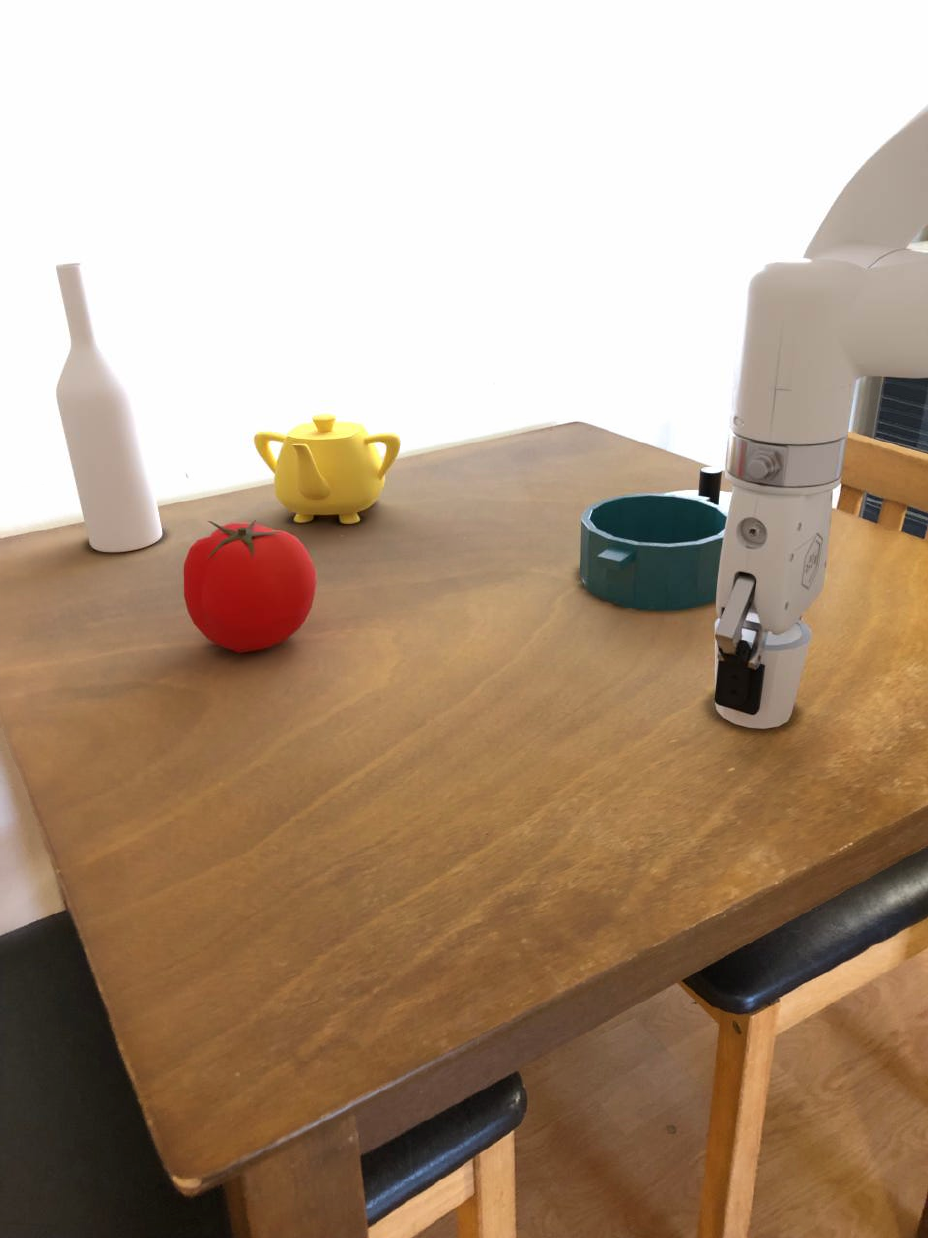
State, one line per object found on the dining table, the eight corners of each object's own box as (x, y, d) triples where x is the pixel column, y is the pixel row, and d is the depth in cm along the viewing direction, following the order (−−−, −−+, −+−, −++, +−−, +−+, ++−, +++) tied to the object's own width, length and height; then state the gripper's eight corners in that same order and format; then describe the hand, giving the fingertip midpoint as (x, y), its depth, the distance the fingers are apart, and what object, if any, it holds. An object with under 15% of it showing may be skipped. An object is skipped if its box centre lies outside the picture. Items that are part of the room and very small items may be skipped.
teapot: (251, 512, 115) (238, 417, 110) (351, 486, 123) (342, 396, 118) (306, 543, 105) (294, 440, 100) (410, 513, 113) (404, 416, 108)
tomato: (195, 619, 88) (175, 508, 84) (316, 604, 91) (304, 495, 86) (191, 681, 78) (168, 558, 73) (328, 662, 80) (315, 541, 75)
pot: (761, 560, 97) (768, 501, 94) (679, 636, 82) (684, 568, 79) (634, 534, 105) (637, 478, 102) (539, 598, 90) (539, 535, 87)
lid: (796, 512, 109) (803, 462, 106) (747, 557, 98) (753, 501, 95) (672, 490, 117) (676, 443, 115) (614, 529, 106) (616, 477, 103)
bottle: (145, 553, 104) (87, 268, 91) (77, 552, 105) (10, 269, 92) (173, 527, 111) (124, 259, 98) (109, 526, 112) (52, 261, 99)
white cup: (797, 740, 67) (810, 655, 64) (701, 724, 70) (708, 641, 67) (802, 693, 73) (814, 613, 70) (712, 680, 75) (720, 602, 72)
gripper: (796, 504, 54) (762, 757, 62) (877, 433, 67) (841, 652, 75) (676, 483, 58) (659, 723, 66) (774, 420, 71) (750, 629, 79)
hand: (755, 684), depth 70 cm, fingers closed on white cup, 6 cm apart
